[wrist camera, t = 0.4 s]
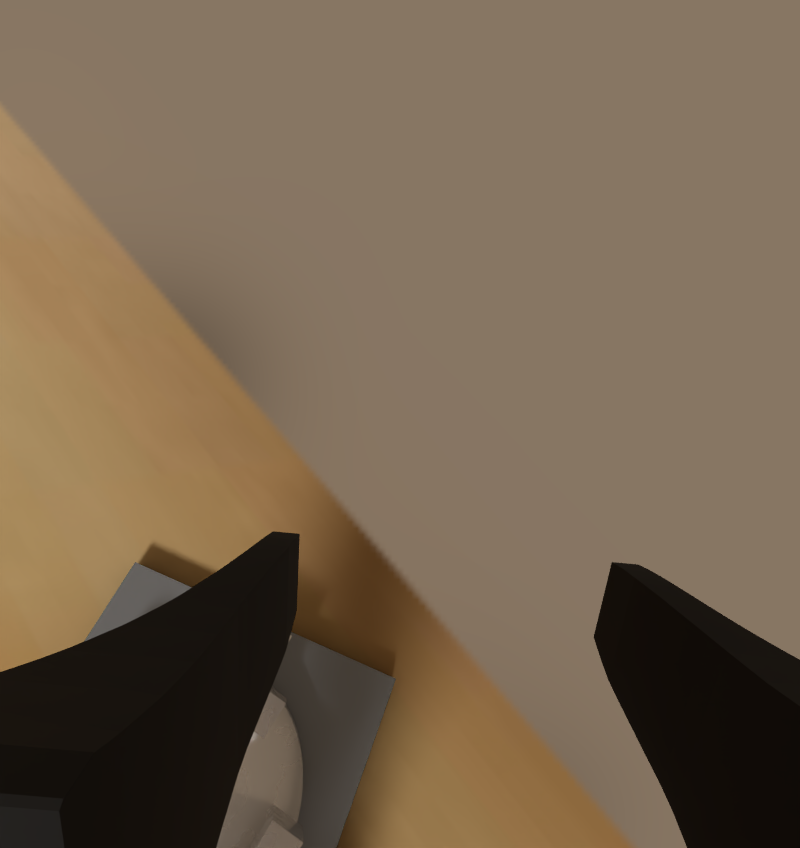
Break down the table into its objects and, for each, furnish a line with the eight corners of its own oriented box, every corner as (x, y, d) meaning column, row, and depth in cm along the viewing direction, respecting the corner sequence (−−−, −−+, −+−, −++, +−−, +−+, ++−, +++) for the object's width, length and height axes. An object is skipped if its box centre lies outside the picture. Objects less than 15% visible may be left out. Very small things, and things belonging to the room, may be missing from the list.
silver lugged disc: (232, 996, 26) (219, 1067, 22) (-17, 887, 26) (-79, 937, 22) (345, 705, 32) (351, 715, 28) (146, 616, 32) (123, 613, 28)
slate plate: (255, 1060, 26) (253, 1086, 25) (-81, 914, 26) (-103, 930, 25) (392, 677, 35) (396, 679, 34) (141, 565, 35) (134, 561, 33)
